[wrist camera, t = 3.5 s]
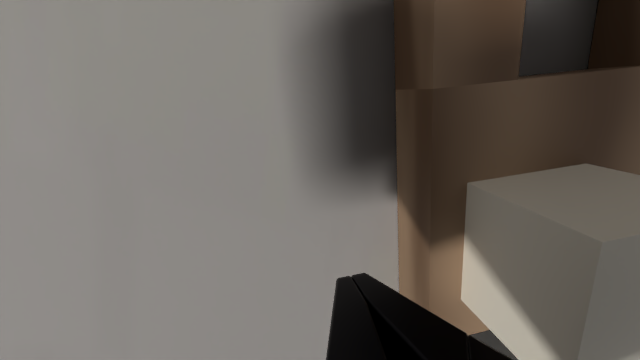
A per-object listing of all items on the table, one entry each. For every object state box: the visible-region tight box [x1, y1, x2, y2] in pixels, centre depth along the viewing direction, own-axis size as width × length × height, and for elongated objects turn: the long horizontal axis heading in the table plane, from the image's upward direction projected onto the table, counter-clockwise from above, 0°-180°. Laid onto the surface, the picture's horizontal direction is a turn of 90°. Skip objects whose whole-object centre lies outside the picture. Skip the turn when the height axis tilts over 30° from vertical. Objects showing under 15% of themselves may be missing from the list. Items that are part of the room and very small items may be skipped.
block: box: [461, 164, 640, 360], centre depth 9 cm, size 4×4×4 cm
